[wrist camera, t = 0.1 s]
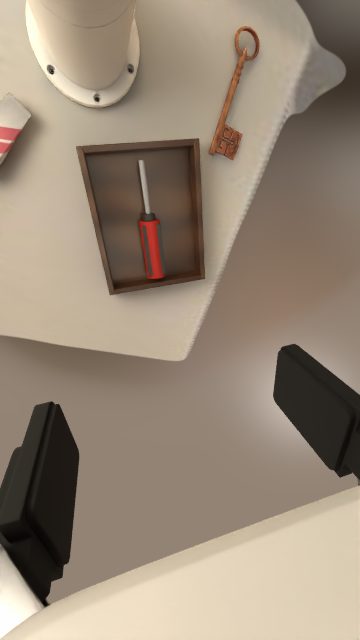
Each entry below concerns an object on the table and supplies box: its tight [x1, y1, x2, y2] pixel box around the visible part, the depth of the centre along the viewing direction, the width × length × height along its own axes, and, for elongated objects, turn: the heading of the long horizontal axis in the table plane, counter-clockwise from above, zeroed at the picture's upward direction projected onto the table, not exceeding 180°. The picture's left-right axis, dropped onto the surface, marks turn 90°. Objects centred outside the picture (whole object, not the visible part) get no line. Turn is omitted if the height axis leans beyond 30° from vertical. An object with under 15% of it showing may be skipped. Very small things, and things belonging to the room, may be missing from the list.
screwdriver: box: [139, 160, 166, 279], centre depth 40 cm, size 17×3×3 cm, turn 5°
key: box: [209, 26, 259, 160], centre depth 37 cm, size 6×1×15 cm
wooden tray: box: [76, 138, 205, 295], centre depth 41 cm, size 21×17×3 cm
